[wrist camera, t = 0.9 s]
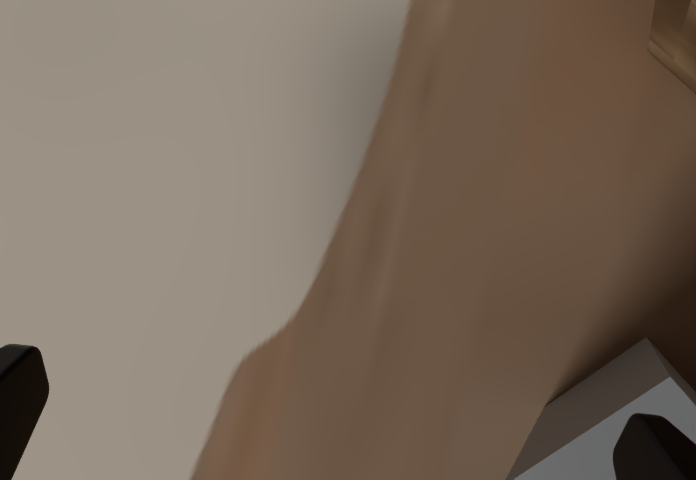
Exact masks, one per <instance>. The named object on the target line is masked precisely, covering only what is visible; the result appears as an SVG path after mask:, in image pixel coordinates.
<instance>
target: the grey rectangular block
mask: <svg viewBox="0 0 696 480" xmlns="http://www.w3.org/2000/svg"><path fill="white" fill-rule="evenodd" d="M634 413H644V414H653V415H659V416H662V417H664V418H666V419H667V420H668V421H669V422H671V423H672V424H673V425H674V426H675V427H676V428H678V429H679V430H680V431H681V432H682V433H683V434H685V435H686V436H687V437H688V438H689V439H690V440H692V441H693V442H694V443H695V444H696V392H695V391H694V390H693V388H692V387H691V386H690V385H689V384H688V383H687V382H686V381H685V380H684V378H683V377H682V376H681V375H680V374H679V373H678V372H677V371H676V370H675V368H674V367H673V366H672V365H671V364H670V363H669V362H668V361H667V360H666V358H665V357H664V356H663V355H662V354H661V353H660V352H659V351H658V349H657V348H656V347H655V346H654V345H653V344H652V343H651V342H650V341H649V339H648V338H647V337H645V338H644V339H642V340H641V341H639V342H638V343H637V344H635V345H634V346H632V347H631V348H629V349H628V350H626V351H625V352H623V353H622V354H621V355H619V356H618V357H616V358H615V359H613V360H612V361H610V362H609V363H607V364H606V365H605V366H603V367H602V368H600V369H599V370H597V371H596V372H594V373H593V374H592V375H590V376H589V377H587V378H586V379H584V380H583V381H581V382H580V383H578V384H577V385H576V386H574V387H573V388H571V389H570V390H568V391H567V392H565V393H564V394H563V395H561V396H560V397H558V398H557V399H555V400H554V401H552V402H551V403H549V404H548V405H547V406H545V407H544V408H543V410H542V412H541V414H540V416H539V418H538V420H537V421H536V423H535V425H534V427H533V429H532V431H531V433H530V435H529V437H528V438H527V440H526V442H525V444H524V446H523V448H522V450H521V452H520V454H519V456H518V457H517V459H516V461H515V463H514V465H513V467H512V469H511V471H510V473H509V475H508V476H507V478H506V480H616V476H615V471H614V466H613V450H614V447H615V445H616V443H617V441H618V439H619V437H620V435H621V433H622V431H623V429H624V427H625V425H626V423H627V421H628V419H629V418H630V416H632V415H633V414H634Z"/></svg>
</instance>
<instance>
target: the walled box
mask: <svg viewBox="0 0 696 480" xmlns="http://www.w3.org/2000/svg"><path fill="white" fill-rule="evenodd" d="M648 52H649V53H650V54H652V55H653V56H654V57H655V58H656V59H657V60H658V61H659V62H661V63H662V64H663V65H664V66H665V67H666V68H667V69H668V70H670V71H671V72H672V73H673V74H674V75H675V76H676V77H677V78H678V79H680V80H681V81H682V82H683V83H684V84H685V85H686V86H687V87H689V88H690V89H691V90H692V91H693V92H694V93H695V94H696V0H656V1H655V8H654V14H653V20H652V26H651V32H650V39H649V45H648Z"/></svg>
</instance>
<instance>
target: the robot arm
mask: <svg viewBox="0 0 696 480" xmlns="http://www.w3.org/2000/svg"><path fill="white" fill-rule="evenodd" d="M48 394H49V383H48V379H47V375H46V371H45V367H44V363H43V359H42V355H41V352H40V350H39V349H38V348H37V347H34V346H28V345H19V344H9V345H6V346H3V347H1V348H0V480H11V479H12V477H13V475H14V473H15V471H16V468H17V466H18V464H19V462H20V459H21V457H22V455H23V453H24V450H25V448H26V446H27V444H28V442H29V439H30V437H31V435H32V432H33V430H34V428H35V426H36V424H37V421H38V419H39V417H40V415H41V413H42V410H43V408H44V406H45V404H46V401H47V398H48ZM613 466H614V471H615V476H616V480H696V444H695V443H694V442H693V441H692V440H690V439H689V438H688V437H687V436H686V435H685V434H683V433H682V432H681V431H680V430H679V429H678V428H676V427H675V426H674V425H673V424H672V423H671V422H669V421H668V420H667V419H666V418H664V417H662V416H659V415H653V414H644V413H634V414H633V415H632V416H630V418H629V419H628V421H627V423H626V425H625V427H624V429H623V431H622V433H621V435H620V437H619V439H618V441H617V443H616V445H615V447H614V450H613Z"/></svg>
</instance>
